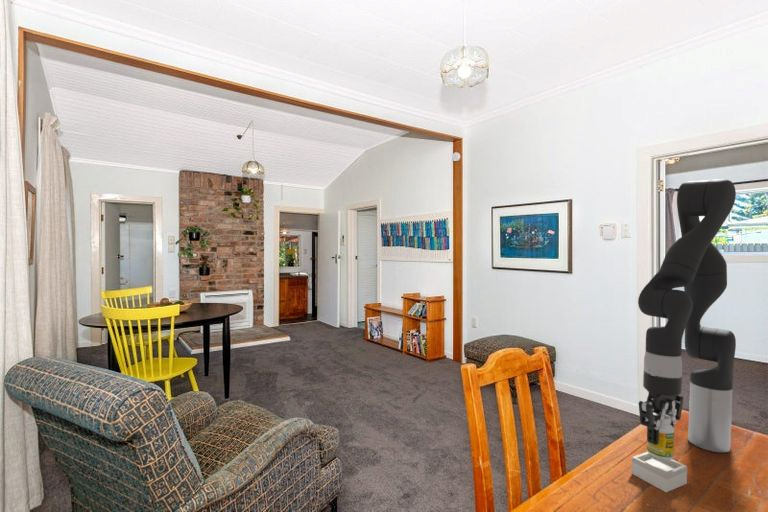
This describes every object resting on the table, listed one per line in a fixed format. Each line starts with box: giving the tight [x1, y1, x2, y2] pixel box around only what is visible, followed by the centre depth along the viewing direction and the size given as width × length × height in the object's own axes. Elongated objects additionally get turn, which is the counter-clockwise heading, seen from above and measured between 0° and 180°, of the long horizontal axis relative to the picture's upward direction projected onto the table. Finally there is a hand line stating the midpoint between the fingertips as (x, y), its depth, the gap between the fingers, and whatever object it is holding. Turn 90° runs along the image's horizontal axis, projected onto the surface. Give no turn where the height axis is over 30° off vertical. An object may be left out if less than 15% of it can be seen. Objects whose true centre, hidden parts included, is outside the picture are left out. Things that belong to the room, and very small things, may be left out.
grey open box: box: [631, 451, 688, 493], centre depth 95 cm, size 8×8×4 cm
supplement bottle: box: [646, 412, 675, 460], centre depth 94 cm, size 5×5×10 cm
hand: (660, 440), depth 94 cm, fingers closed on supplement bottle, 5 cm apart
